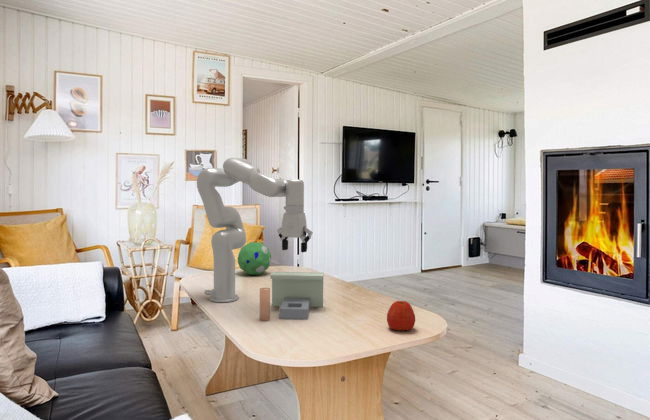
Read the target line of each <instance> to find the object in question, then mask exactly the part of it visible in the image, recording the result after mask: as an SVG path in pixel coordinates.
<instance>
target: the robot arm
mask: <svg viewBox="0 0 650 420" xmlns="http://www.w3.org/2000/svg"><path fill="white" fill-rule="evenodd" d="M239 182H241V183H244V184H246V185H247V186H249V188H250V189H251V190H253V191H254V192H256V193H258V194H260V195H262V196H265V197H269V198H282V197H283V198H284V197H285V206H284V207H283V210H284V211H285V212H283V214H282V215H283V216H282V221H281V227H279V228H278V229H276V231H277V233H278V237H279V238H280V241H281V242H282V243H281V250H282V251H287V250H288V249H289V240H288V239H289V238H294V239H295V238H296V239H297V238H300V241H301V243H300V252H301V253H307V250H308V242H309V241H310V240H311V239H312V235H313V233H314V232H313V231H312V230H311V229H309V228H307V227H308V226H307V219H306V218H307V217H306V213H305V207H304V206H305V181H304V180H303V179H295V178H294V179H285V178H284V179H283V178H271V177H267V176H265V175H263V174H261V171H260V168H258V166H255V165H254V164H252V162H251V161H249V160H248V159H246V158H241V157H229V158H226V160H225V161H223V164H222V168H221V167H220V168H219V167H207V168H203V169H202V170H201V171H200V172H199V173H198V174H197V178H196V188H197V191H198V194H199V196H200V198H201V201H202V204H203V208H204V211H205V214H206V217H207V221H208V224H209V225H210V227H211V228H214V229H220V230H217V231H215V232H214V233H213V235H212V237H211V248H212V255H213V288H212V289H211V290H210V289H205V290H204V295H205V296H208V295H209V296H210V298H209V299H210V301H211V302H213V303H231V302H235V301H238V300H239V298H240V296H239V295H238V294H236V259H235V258H236V257H235V255H234V252H233V250H237V249H241V248H242V247H244V246H245V245H246V243H247V234H246V231H245V227H244V224H243V221H242V217H241V215H240V212H239V211H238V210H237V209H236V208H234V207H233V206H225V205H224V202H223V199H222V196H221V194H220V192H219V191H218V190H217V189H216V187H219V188H221V187H222V188H227V187H231V186H233V185H235V184H237V183H239ZM222 228H225V229H222Z"/></svg>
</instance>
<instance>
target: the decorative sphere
mask: <svg viewBox="0 0 650 420" xmlns="http://www.w3.org/2000/svg"><path fill="white" fill-rule="evenodd" d="M271 261H272V254H271V252H270V249H269V248H268V247H267V246H266V245H264V244H263V243H262V242H257V241H255V242H252V241H251V242H248V243H247V244H246V243H245V245H244V246H243V247H241V248H240V250H239V252H238V256H237V264H238V266H239V268H240V270H242V271H243V272H244V273H246V274H247V275H248V276H260V275H261V274H263V273H264V272H266V271H267V270H268V269H269V268H270V264H271Z"/></svg>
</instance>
